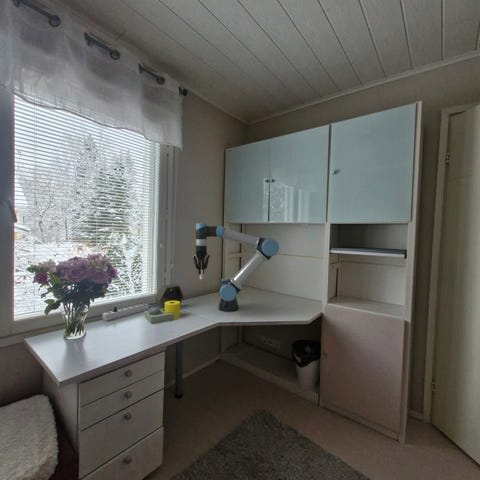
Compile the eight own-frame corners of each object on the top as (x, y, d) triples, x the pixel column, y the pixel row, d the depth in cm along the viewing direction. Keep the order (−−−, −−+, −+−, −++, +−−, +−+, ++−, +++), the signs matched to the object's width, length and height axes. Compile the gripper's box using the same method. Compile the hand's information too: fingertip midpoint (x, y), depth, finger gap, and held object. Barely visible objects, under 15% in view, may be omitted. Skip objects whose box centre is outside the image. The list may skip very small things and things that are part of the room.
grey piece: (166, 313, 178) (166, 303, 178) (173, 319, 166) (173, 309, 165) (144, 317, 170) (144, 306, 169) (151, 324, 157) (151, 312, 157)
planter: (155, 307, 176) (170, 280, 183) (150, 304, 181) (165, 279, 188) (173, 316, 186) (187, 290, 193) (168, 313, 191) (182, 288, 198)
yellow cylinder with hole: (181, 314, 177) (181, 301, 176) (176, 319, 167) (176, 305, 166) (167, 313, 178) (167, 300, 177) (162, 318, 168) (162, 304, 167)
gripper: (207, 244, 184) (207, 277, 184) (190, 245, 177) (190, 279, 177) (212, 245, 177) (212, 278, 178) (194, 245, 170) (194, 280, 171)
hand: (201, 279), depth 178 cm, fingers closed
